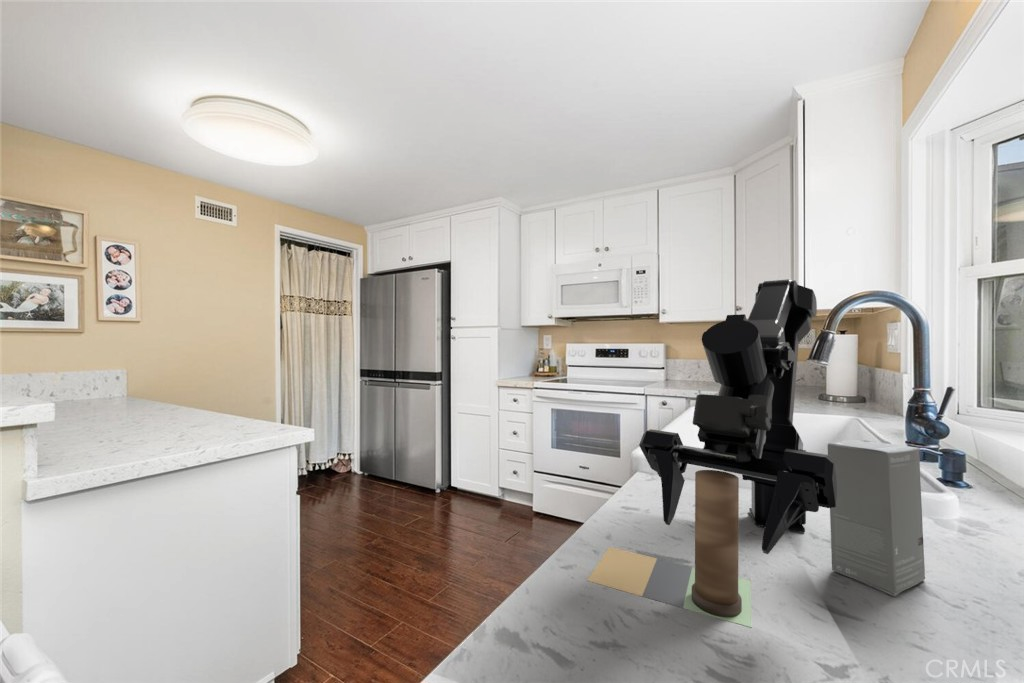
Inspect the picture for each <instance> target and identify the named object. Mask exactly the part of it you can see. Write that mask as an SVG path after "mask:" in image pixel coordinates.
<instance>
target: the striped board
mask: <svg viewBox="0 0 1024 683" xmlns="http://www.w3.org/2000/svg"><path fill="white" fill-rule="evenodd" d="M586 580H587V582H590V583H592V584H593V583H594V584H597V585H600V586H604V587H608V588H611V589H615V590H618V591H621V592H625V593H629V594H632V595H636V596H639V597H642V598H647V599H650V600H653V601H657V602H660V603H664V604H666V605H670V606H674V607H678V608H681V609H685V610H688V611H691V612H696V613H697V614H702V615H706V616H709V617H712V618H715V619H719V620H722V621H726V622H730V623H734V624H737V625H740V626H744V627H747V628H750V629H751V628H752V625H753V624H752V597H751V596H752V595H751V580H749V579H745V578H740V577H738V593H739V595H740V596H741V599H742V611H741V613H740V614H739V615H738V616H735V617H719V616H715V615H712V614H709V613H707V612H705V611H703V610H701V609H700V608H698V607H697V606H696V605H695V604H694V603H693V601H692V585H693V584H694V583H695V566H692V565H691V566H690V565H686V564H682V563H679V562H674V561H670V560H665V559H661V558H657V557H653V556H649V555H645V554H641V553H637V552H632V551H628V550H624V549H619V548H616V547H611V546H609V547H608V548H607V550H606V551H605V553H604V554H603V556H602V557H601V559H600V560H599V561H598V563H597V565H596V566H595V568H594V569H593V571H592V572H591V573H590V575H589V577H588V578H587V579H586Z"/></svg>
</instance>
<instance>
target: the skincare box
mask: <svg viewBox="0 0 1024 683" xmlns="http://www.w3.org/2000/svg"><path fill="white" fill-rule="evenodd" d="M827 455H828V456H829V457H830V458H831V459H832V460H833V461H834V464H835V473H836V482H837V496H836V507H833V508H829V519H830V521H829V522H830V526H829V527H830V545H831V546H830V550H831V551H830V553H831V569H832V571H834V572H836V573H838V574H840V575H842V576H846V577H848V578H851V579H853V580H856V581H859V582H861V583H863V584H866V585H868V586H871V587H873V588H875V589H877V590H879V591H881V592H884V593H885V594H888V595H890V596H892V597H896V596H898V595H899V594H900V593H902V592H904V591H906V590H908V589H911V588H912V587H914V586H916V585H918V584H920V583H922V581H924V580H925V579H926V572H925V571H926V570H925V569H926V568H925V566H926V565H925V553H924V552H925V550H924V549H925V548H924V547H925V546H924V528H923V508H922V507H923V506H922V505H923V504H922V486H921V464H920V463H921V462H920V461H921V460H920V457H921V456H920V447H915V446H908V445H901V444H892V443H886V442H877V441H871V440H863V439H859V440H858V439H857V440H841V441H838V442H837V441H836V442H828V443H827Z"/></svg>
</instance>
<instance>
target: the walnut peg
mask: <svg viewBox="0 0 1024 683" xmlns="http://www.w3.org/2000/svg"><path fill="white" fill-rule="evenodd" d="M694 474H695V476H694V477H695V482H694V485H695V486H694V488H695V489H694V492H695V494H694V497H695V498H694V503H695V504H694V515H695V516H694V531H695V532H694V567H695V583H694V584H693V585H692V601H693V603H694V604H695V605H696V606H697V607H698V608H700V609H701V610H703V611H705V612H707V613H709V614H712V615H715V616H719V617H735V616H738V615H739V614H740V613H741V611H742V599H741V596H740V595H739V593H738V578H739V516H740V515H739V504H740V503H739V499H740V498H739V497H740V496H739V493H740V492H739V490H740V489H739V485H740V484H739V482H740V481H739V479H740V478H739V477H738V476H737V475H735V474H734V473H731V472H726V471H723V470H717V469H701V470H697V471H695V472H694Z"/></svg>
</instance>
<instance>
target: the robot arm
mask: <svg viewBox="0 0 1024 683" xmlns="http://www.w3.org/2000/svg"><path fill="white" fill-rule="evenodd" d="M817 303H818V301H817V296H816V294H815V291H814V290H813V289H812V288H809V287H805V286H802V285H800V284H798V282H797V280H792V279H777V280H764V281H763V282H760V283H758V286H757V291H756V293H755V298H754V303H753V306H752V309H751V311H750V314H749V316H748V319H747V316H746V314H742V313H741V314H727V315H726V317H725V320H723V321H721V322H717V323H715V324H713V325H712V326H710V327H709V328H708V329H707V330H706V331H704V332H703V333H702V335H701V343H702V346H703V349H704V353H705V356H706V358H707V362H708V365H709V368H710V372H711V374H712V377H713V380H714V382H715V383H716V384H720V388H719V392H718V394H717V395H716V394H705V393H704V394H703V393H701V394H697V395H696V398H695V404H694V411H693V417H692V425H693V426H697V427H698V428H699V429H698V432H697V438H698V440H699V442H700V443H704V444H703V448H702V447H695V446H689V445H684V444H683V441H682V439H681V437H680V435H679V433H678V432H672V431H667V430H666V431H664V430H658V429H648V430H646V431H645V432H644V433H643V434H642V436H641V439H640V442H639V444H638V445H639V449H640V450H641V452H642V454H643V456H644V457H645V459H646V461H647V464H648V465H649V467H650V469H652V470H653V471H655V472H656V474H657V475H658V477H660V482H661V494H662V496H661V497H662V499H661V500H662V515H663V522H664V523H665V525H667V526H670V525H671V524H672V521H673V520H674V518H675V515H676V512H677V509H678V505H679V501H680V497H681V494H682V492H683V487H684V485H685V478H684V475H683V473H685V472H686V469H687V466H688V465H691V466H697V467H703V468H708V469H711V470H717V471H723V472H727V473H731V474H736V475H737V474H738V475H741V476H742V481H751V507H750V508H749V510H748V512H749V514H750V516H751V519H752V521H753V523H754V525H755V526H757V527H764V529H763V533H762V534H763V535H762V542H761V550H762V553H763V554H764V555H765V554H766V555H769V554H770V552H771V551H772V550H773V548H774V547H775V546H776V544H778V542H779V541H780V539H781V538H782V537H783V535H784V534H785V533H786V532H787V531H792V532H796V533H797V532H798V533H805V532H806V528H805V527H804V526H803V525H806V523H807V516H806V514H807V512H811V513H817V512H819V510H820V507H822V508H826V509H830V508H833V507H836V496H837V482H836V473H835V464H834V461H833V460H832V459H831V458H830V457H829V456H828V454H825V453H818V452H810V451H807V450H806V449H804V442H803V441H802V438H801V436H800V434H799V432H798V431H797V429H796V428H795V425H793V424H794V423H793V422H794V408H795V395H796V385H797V384H796V383H797V382H796V381H797V370H798V369H797V368H798V356H799V343H800V342H801V341H802V340H803V339H804V338H805V337H806V336H807V335H808V334H809V333H810V331H811V330H812V324H813V323H812V322H813V321H812V320H813V318H817V311H818V310H817V309H818V308H817V307H818V306H817V305H818V304H817Z"/></svg>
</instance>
